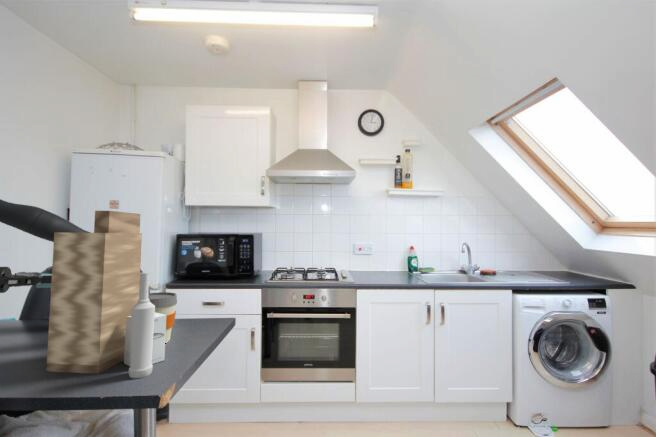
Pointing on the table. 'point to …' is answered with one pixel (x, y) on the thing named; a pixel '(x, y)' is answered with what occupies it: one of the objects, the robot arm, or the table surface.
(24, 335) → the table surface
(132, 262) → the brown tall stepped block
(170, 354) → the table surface
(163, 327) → the supplement box
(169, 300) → the reusable coffee cup
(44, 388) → the table surface
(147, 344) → the bottle
